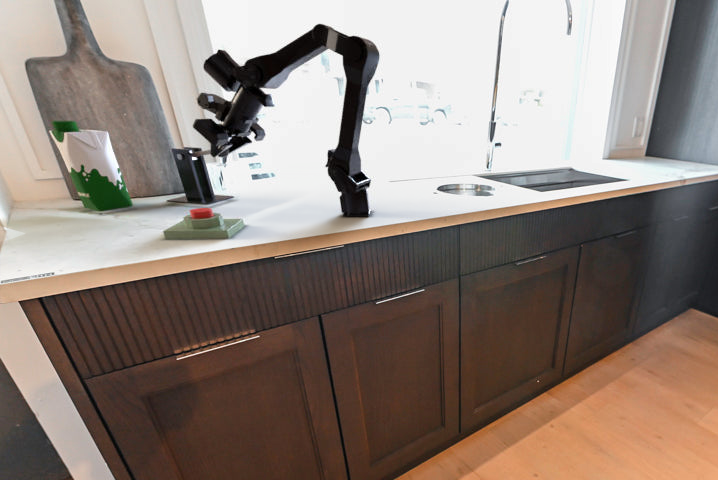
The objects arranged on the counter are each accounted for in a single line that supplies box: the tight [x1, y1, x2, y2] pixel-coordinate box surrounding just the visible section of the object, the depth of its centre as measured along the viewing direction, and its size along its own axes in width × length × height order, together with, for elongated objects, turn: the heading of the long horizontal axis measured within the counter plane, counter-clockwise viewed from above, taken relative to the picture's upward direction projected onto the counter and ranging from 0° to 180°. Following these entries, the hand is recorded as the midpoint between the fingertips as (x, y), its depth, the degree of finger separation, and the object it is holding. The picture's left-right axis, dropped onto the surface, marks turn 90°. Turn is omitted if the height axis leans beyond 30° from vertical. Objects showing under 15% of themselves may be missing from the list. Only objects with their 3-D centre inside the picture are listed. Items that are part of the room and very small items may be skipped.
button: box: [189, 207, 214, 219], centre depth 91 cm, size 4×4×2 cm
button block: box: [162, 212, 246, 240], centre depth 92 cm, size 12×10×4 cm
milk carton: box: [49, 120, 134, 215], centre depth 102 cm, size 9×9×20 cm
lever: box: [190, 149, 230, 160], centre depth 110 cm, size 13×4×4 cm, turn 82°
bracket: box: [166, 146, 235, 206], centre depth 114 cm, size 12×10×14 cm
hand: (218, 155), depth 110 cm, fingers closed on lever, 3 cm apart
